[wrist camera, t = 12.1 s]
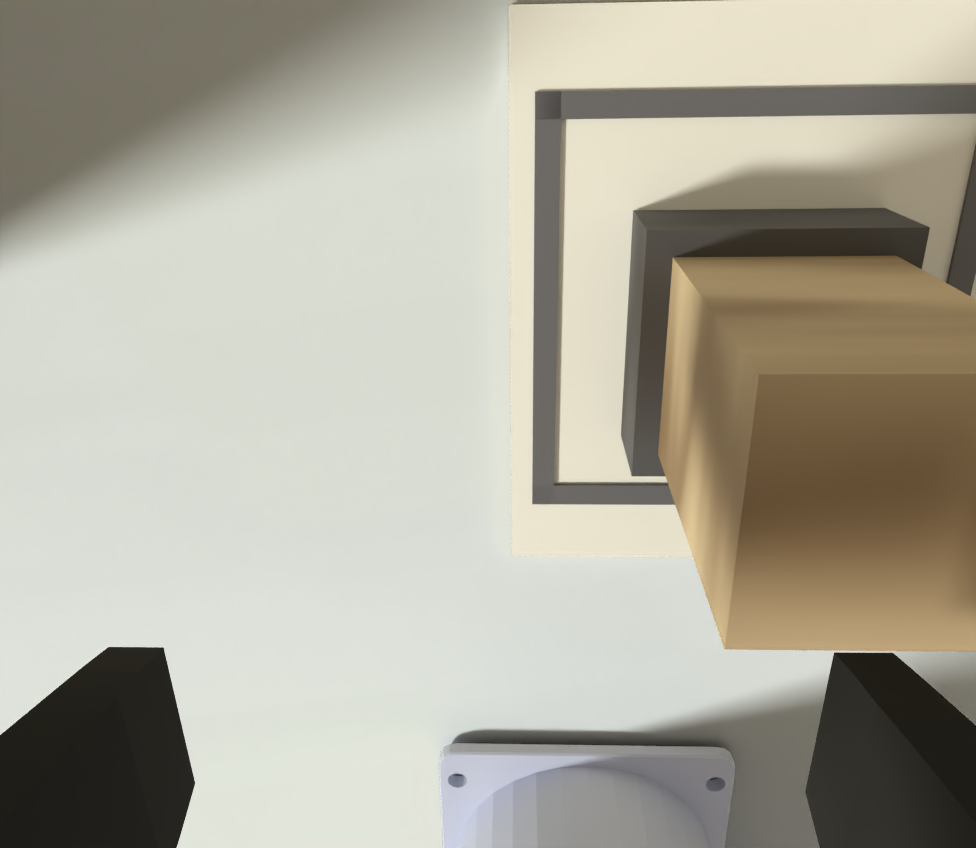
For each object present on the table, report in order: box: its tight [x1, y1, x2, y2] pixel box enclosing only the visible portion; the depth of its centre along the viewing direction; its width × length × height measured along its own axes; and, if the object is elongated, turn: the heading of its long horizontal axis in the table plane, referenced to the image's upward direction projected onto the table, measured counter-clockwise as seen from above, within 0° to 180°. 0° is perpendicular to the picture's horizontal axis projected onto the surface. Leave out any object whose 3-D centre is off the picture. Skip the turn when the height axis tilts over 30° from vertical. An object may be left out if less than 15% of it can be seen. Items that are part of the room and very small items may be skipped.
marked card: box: [509, 0, 976, 557], centre depth 18 cm, size 12×10×1 cm
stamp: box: [621, 208, 976, 652], centre depth 14 cm, size 5×5×8 cm
